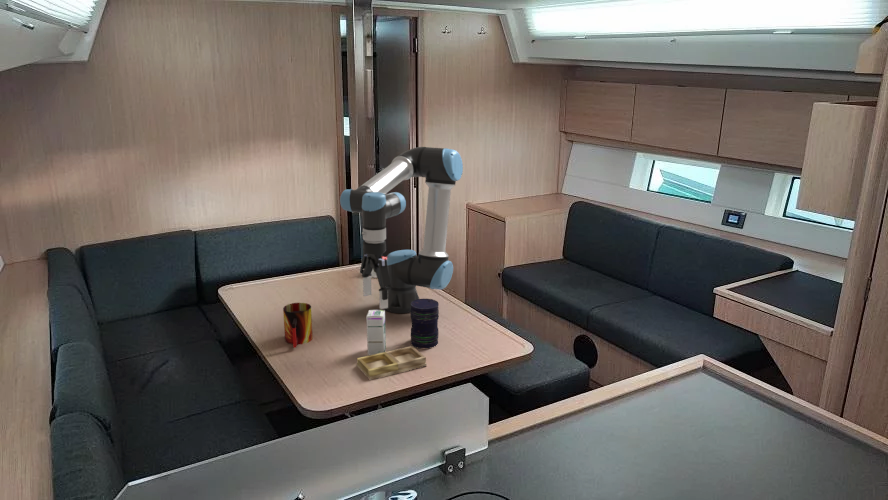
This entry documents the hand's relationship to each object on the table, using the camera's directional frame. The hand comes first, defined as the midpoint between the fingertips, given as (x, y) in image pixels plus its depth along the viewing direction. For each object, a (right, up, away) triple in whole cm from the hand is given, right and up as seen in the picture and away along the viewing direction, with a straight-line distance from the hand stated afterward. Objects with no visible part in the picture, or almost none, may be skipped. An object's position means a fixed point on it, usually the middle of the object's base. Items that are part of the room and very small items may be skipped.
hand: (375, 301), depth 216 cm
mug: (-28, -15, +13) cm, 34 cm away
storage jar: (+16, -16, +13) cm, 26 cm away
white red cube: (-6, +5, +84) cm, 84 cm away
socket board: (+6, -21, -5) cm, 22 cm away
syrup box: (0, -18, +5) cm, 19 cm away
